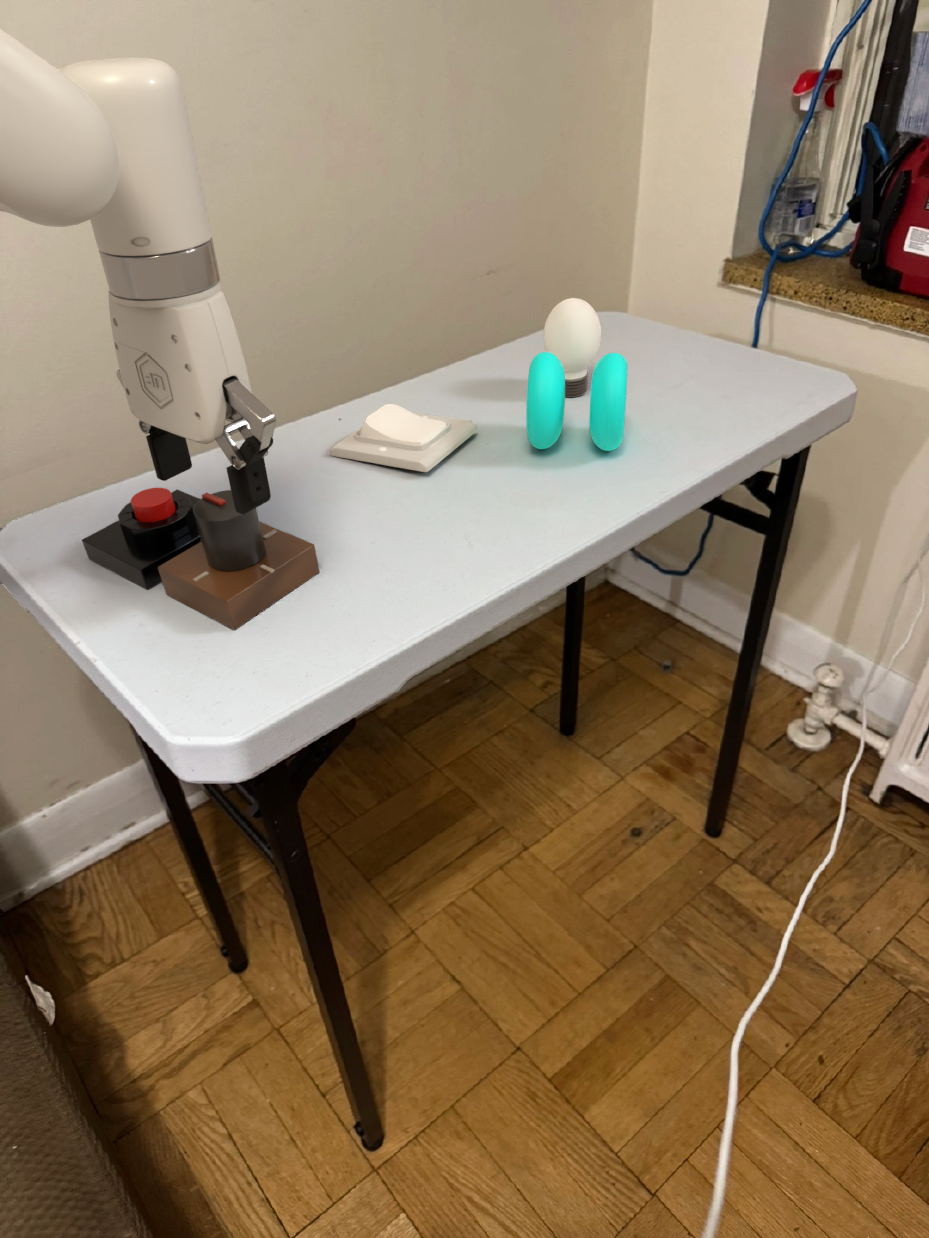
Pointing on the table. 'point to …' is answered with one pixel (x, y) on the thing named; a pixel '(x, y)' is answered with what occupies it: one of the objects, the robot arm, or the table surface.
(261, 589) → the dimmer panel
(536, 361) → the donuts
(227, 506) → the dimmer knob
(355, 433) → the light switch
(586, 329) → the light bulb
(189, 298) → the robot arm
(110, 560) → the switch block
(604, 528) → the table surface
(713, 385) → the table surface
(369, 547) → the table surface
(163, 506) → the power button
